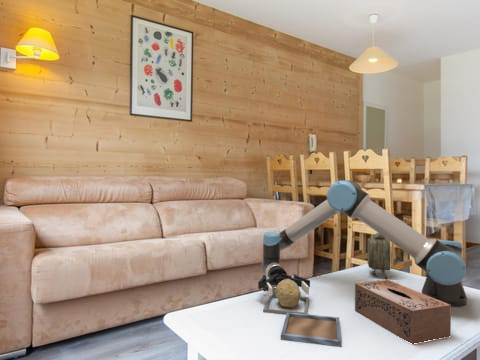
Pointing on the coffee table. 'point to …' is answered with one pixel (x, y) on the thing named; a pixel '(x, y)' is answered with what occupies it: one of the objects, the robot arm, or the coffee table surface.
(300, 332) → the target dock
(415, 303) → the tissue box cover
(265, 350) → the coffee table surface
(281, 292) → the coral
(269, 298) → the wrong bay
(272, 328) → the coffee table surface
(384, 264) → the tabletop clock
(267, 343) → the coffee table surface
